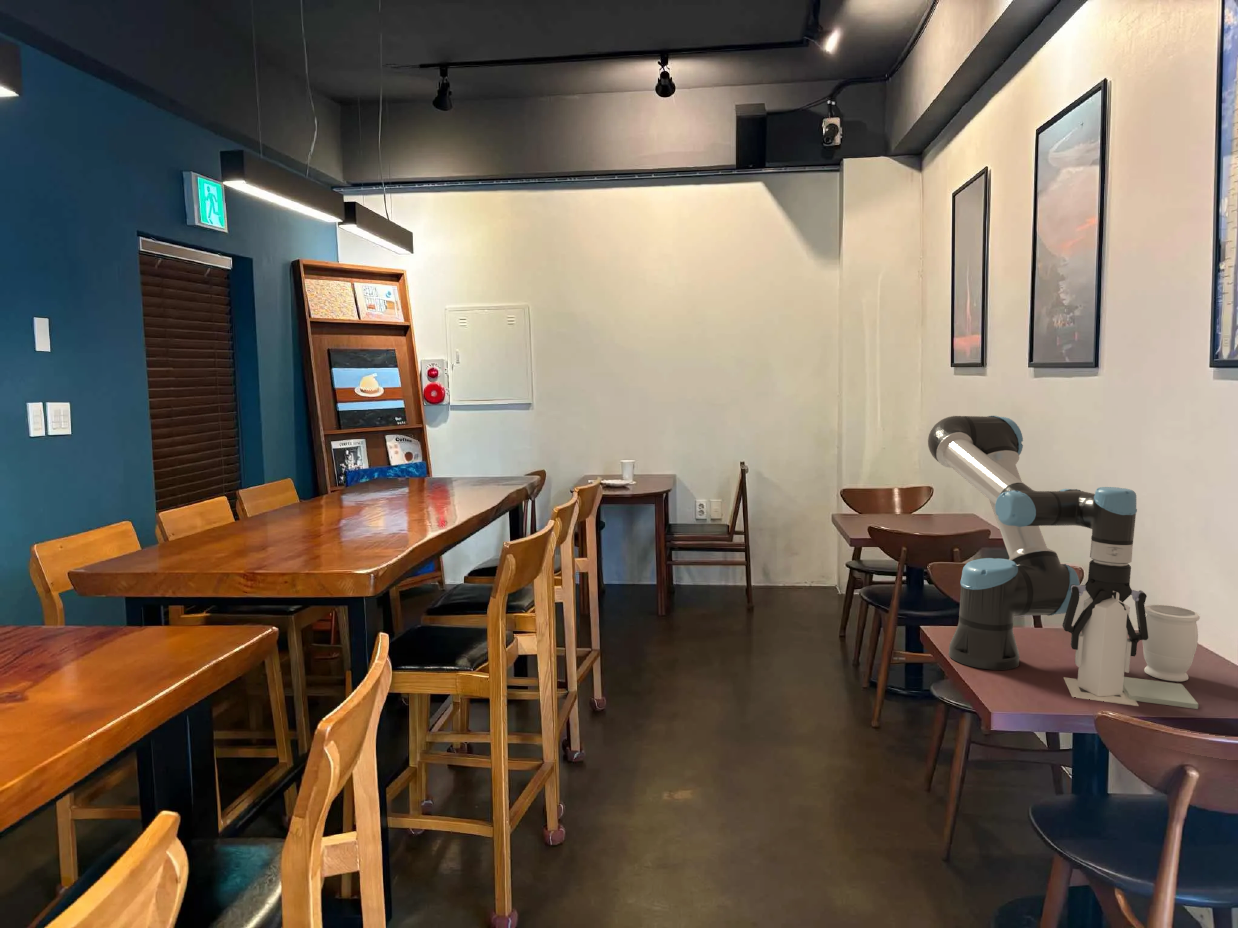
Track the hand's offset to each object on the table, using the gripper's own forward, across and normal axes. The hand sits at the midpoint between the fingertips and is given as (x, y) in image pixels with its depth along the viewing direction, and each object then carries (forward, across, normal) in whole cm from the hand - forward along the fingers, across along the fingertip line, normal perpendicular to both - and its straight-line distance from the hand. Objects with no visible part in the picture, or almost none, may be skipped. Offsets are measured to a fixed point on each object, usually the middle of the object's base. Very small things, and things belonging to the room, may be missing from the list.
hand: (1101, 667), depth 175 cm
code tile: (+5, 0, 0) cm, 5 cm away
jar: (+5, +16, +17) cm, 24 cm away
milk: (+5, 0, 0) cm, 5 cm away
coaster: (+5, +11, +3) cm, 13 cm away
